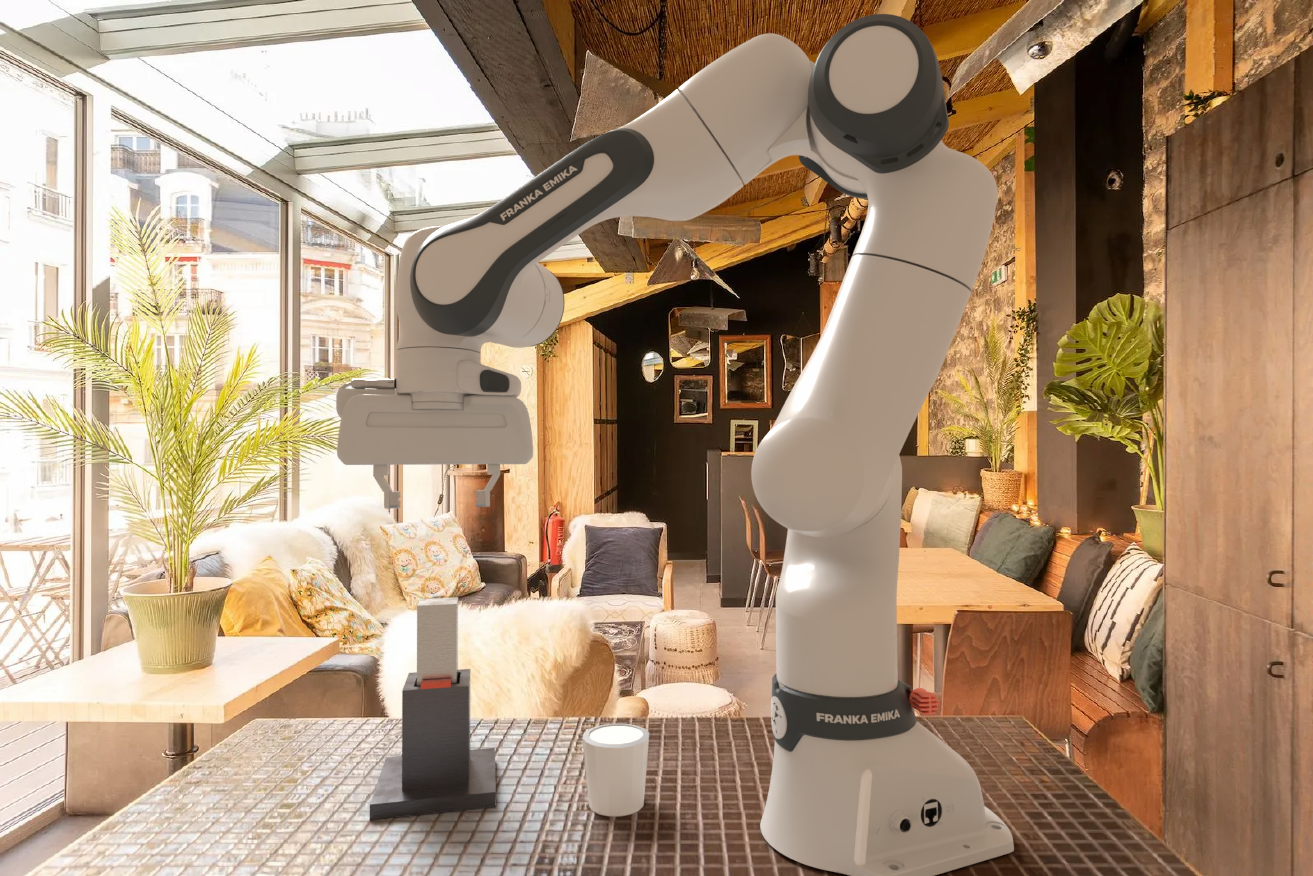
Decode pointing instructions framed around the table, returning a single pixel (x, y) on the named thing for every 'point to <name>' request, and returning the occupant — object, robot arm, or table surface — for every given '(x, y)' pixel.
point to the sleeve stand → (435, 755)
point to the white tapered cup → (616, 768)
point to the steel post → (437, 639)
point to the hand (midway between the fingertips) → (438, 507)
